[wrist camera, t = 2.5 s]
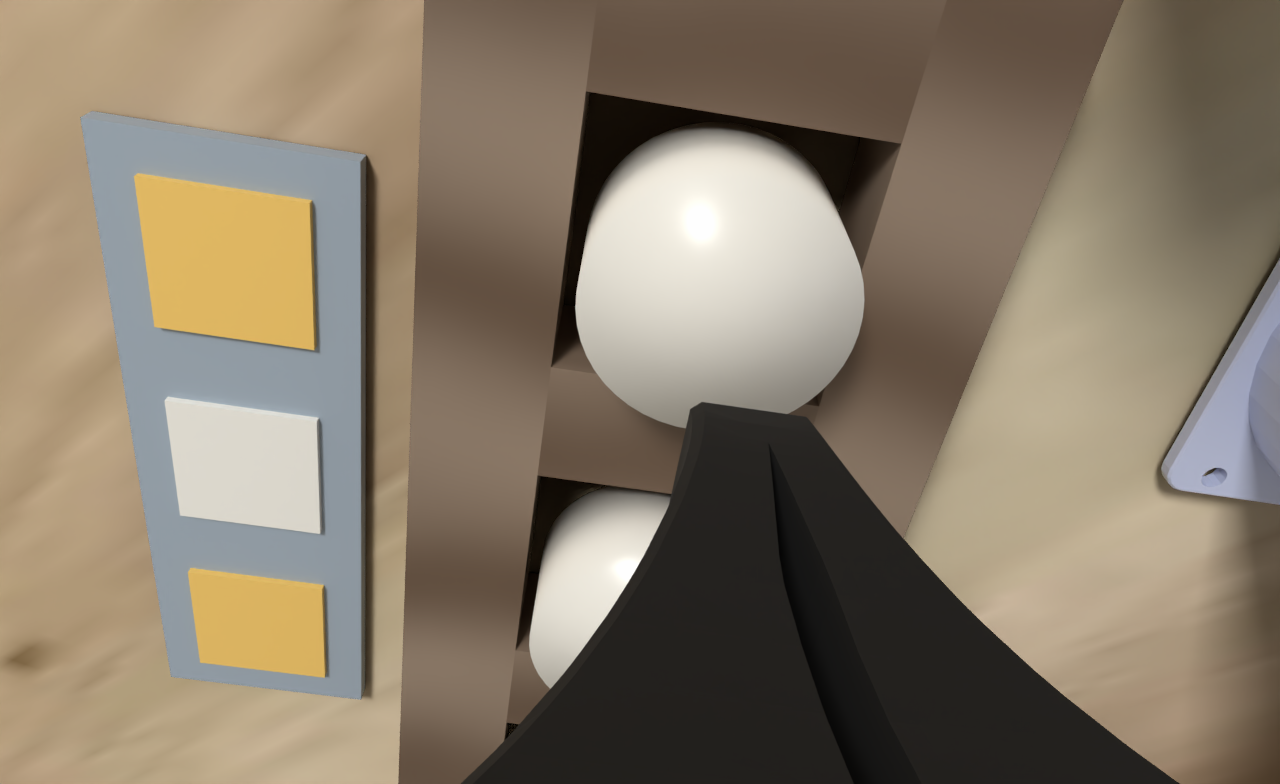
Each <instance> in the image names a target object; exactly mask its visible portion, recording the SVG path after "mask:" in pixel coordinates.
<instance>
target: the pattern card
mask: <svg viewBox="0 0 1280 784" xmlns="http://www.w3.org/2000/svg"><path fill="white" fill-rule="evenodd" d="M80 118H81V124H82V130H83V136H84V143H85V149H86V155H87V161H88V167H89V173H90V180H91V186H92V192H93V198H94V204H95V210H96V217H97V223H98V229H99V235H100V241H101V247H102V254H103V260H104V266H105V272H106V278H107V284H108V291H109V297H110V303H111V309H112V315H113V321H114V328H115V334H116V340H117V346H118V352H119V358H120V365H121V371H122V377H123V383H124V389H125V395H126V402H127V408H128V414H129V420H130V426H131V432H132V439H133V445H134V451H135V457H136V463H137V469H138V476H139V482H140V488H141V494H142V500H143V506H144V513H145V519H146V525H147V531H148V537H149V543H150V550H151V556H152V562H153V568H154V574H155V580H156V587H157V593H158V599H159V605H160V611H161V617H162V624H163V630H164V636H165V642H166V648H167V654H168V661H169V667H170V673H171V677H177V678H185V679H193V680H202V681H210V682H218V683H227V684H235V685H243V686H252V687H260V688H268V689H277V690H285V691H293V692H302V693H310V694H318V695H327V696H335V697H343V698H352V699H360V700H361V699H362V696H363V693H364V690H365V536H366V155H365V154H358V153H352V152H346V151H339V150H333V149H327V148H321V147H314V146H308V145H302V144H295V143H289V142H283V141H277V140H270V139H264V138H258V137H252V136H245V135H239V134H233V133H226V132H220V131H214V130H208V129H201V128H195V127H189V126H182V125H176V124H170V123H164V122H157V121H151V120H145V119H138V118H132V117H126V116H120V115H113V114H107V113H101V112H94V111H91V112H89V113H87V114H86V115H84V116H82V117H80Z"/></svg>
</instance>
